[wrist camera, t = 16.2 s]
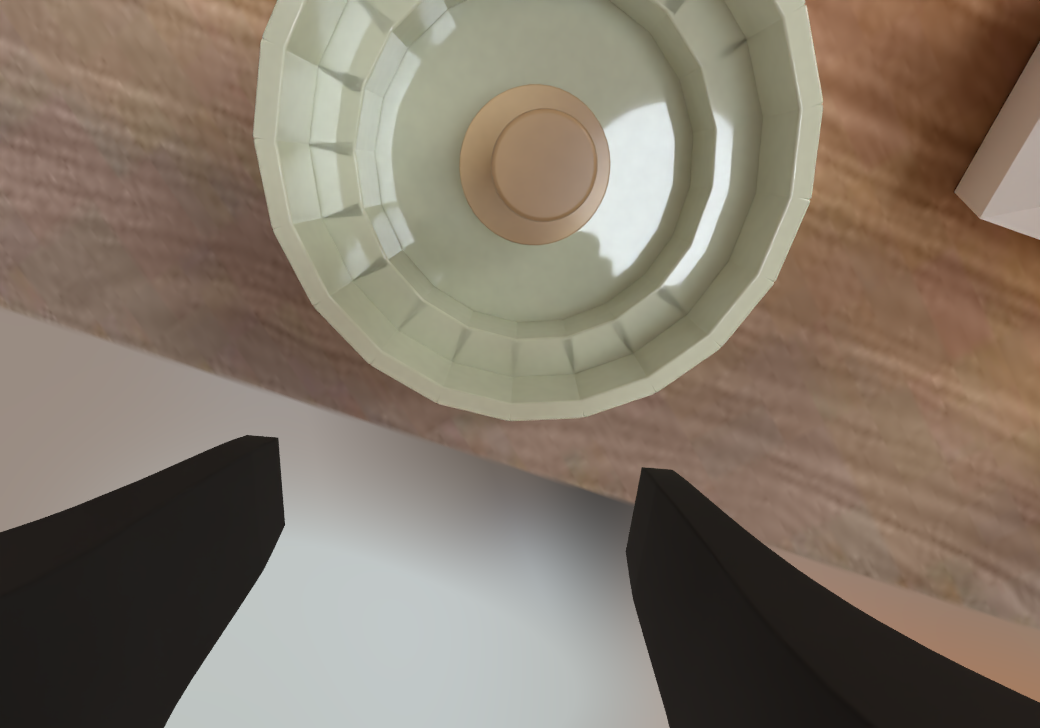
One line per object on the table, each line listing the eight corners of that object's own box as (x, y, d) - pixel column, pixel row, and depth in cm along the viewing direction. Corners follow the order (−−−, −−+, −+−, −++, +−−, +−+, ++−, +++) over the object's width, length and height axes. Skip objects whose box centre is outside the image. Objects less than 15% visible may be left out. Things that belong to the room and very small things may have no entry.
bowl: (258, 231, 19) (171, 252, 14) (461, -204, 15) (431, -378, 10) (582, 426, 22) (598, 497, 17) (832, 101, 17) (946, 75, 13)
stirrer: (443, 189, 18) (344, 212, 8) (513, 65, 17) (497, -86, 7) (551, 260, 19) (580, 360, 9) (626, 147, 17) (757, 118, 8)
